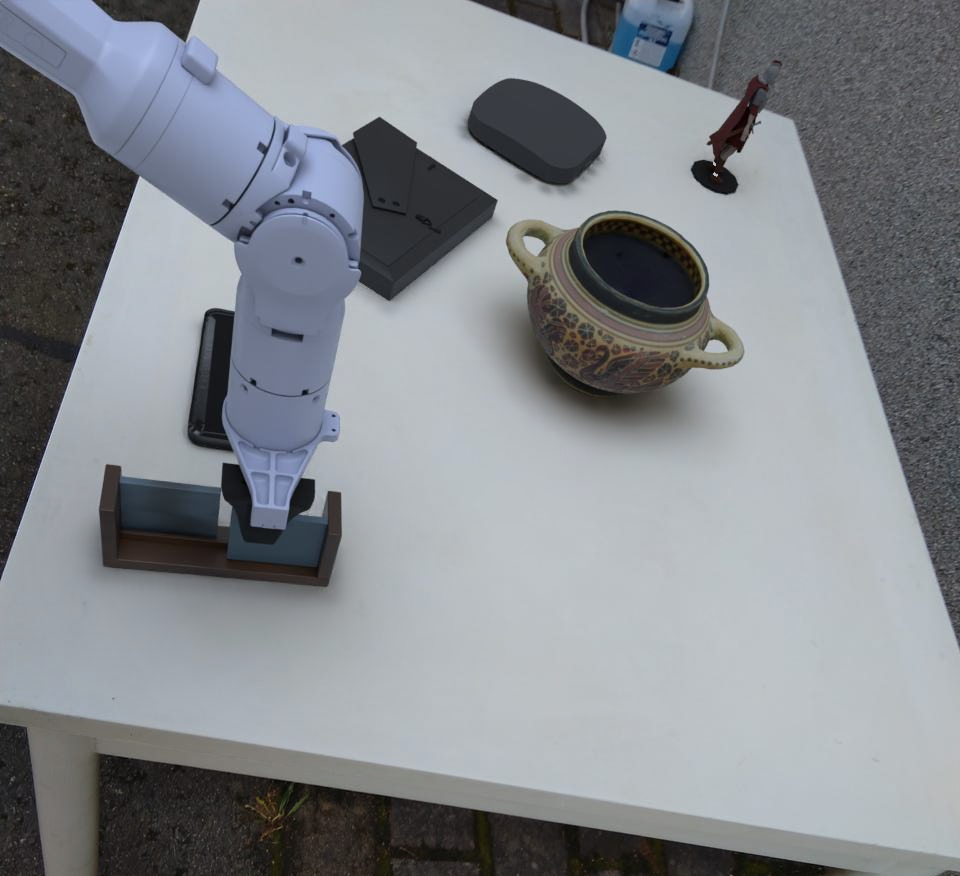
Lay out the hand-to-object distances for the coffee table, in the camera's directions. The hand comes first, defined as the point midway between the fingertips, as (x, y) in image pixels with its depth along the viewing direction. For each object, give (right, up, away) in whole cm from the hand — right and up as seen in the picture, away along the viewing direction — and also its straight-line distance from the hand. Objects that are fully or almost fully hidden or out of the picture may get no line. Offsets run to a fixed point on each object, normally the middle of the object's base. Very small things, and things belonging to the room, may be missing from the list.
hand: (260, 508), depth 64 cm
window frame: (-4, -3, +5) cm, 7 cm away
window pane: (0, -3, +5) cm, 6 cm away
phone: (-5, +12, +15) cm, 20 cm away
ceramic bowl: (+26, +18, +29) cm, 43 cm away
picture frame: (+5, +35, +32) cm, 48 cm away
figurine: (+45, +51, +56) cm, 88 cm away
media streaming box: (+22, +51, +49) cm, 74 cm away
